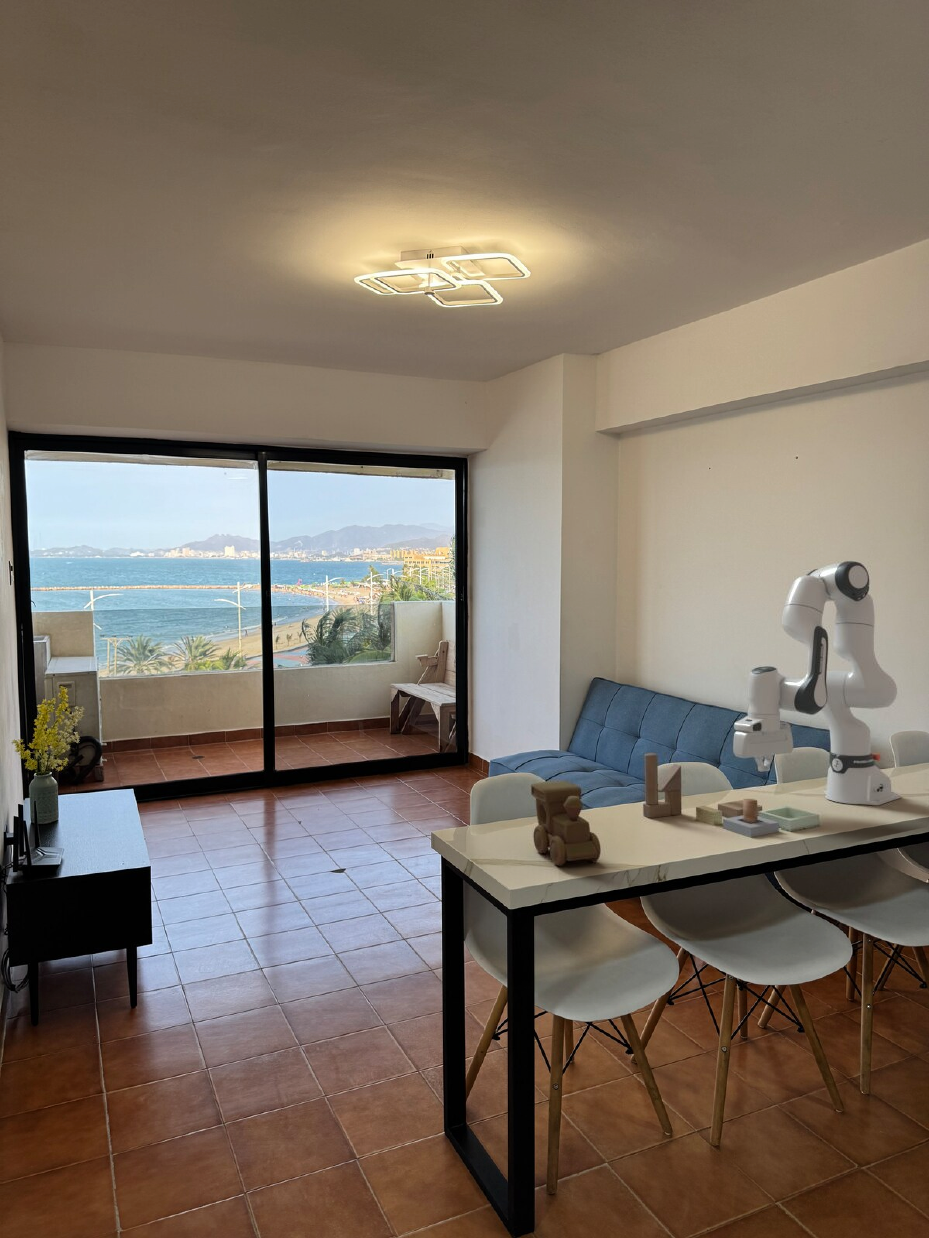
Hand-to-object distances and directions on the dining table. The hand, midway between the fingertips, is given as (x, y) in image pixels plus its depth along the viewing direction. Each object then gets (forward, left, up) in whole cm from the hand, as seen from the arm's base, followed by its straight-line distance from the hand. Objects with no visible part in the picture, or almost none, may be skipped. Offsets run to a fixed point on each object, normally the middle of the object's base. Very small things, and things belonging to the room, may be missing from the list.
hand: (763, 770), depth 247 cm
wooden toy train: (+72, +6, -12) cm, 74 cm away
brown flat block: (+9, 0, -12) cm, 15 cm away
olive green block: (+21, 0, -12) cm, 24 cm away
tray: (+4, +13, -12) cm, 18 cm away
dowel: (+17, +12, -12) cm, 24 cm away
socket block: (+17, +12, -12) cm, 24 cm away
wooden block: (+27, -12, -12) cm, 32 cm away
